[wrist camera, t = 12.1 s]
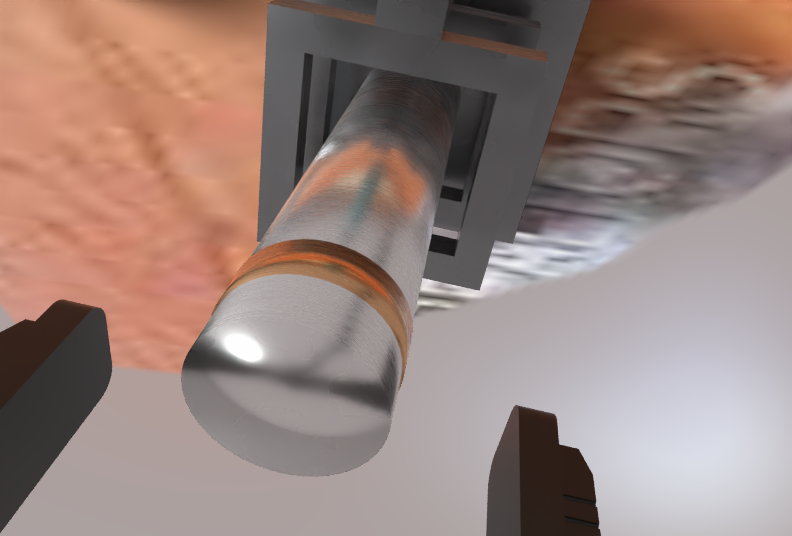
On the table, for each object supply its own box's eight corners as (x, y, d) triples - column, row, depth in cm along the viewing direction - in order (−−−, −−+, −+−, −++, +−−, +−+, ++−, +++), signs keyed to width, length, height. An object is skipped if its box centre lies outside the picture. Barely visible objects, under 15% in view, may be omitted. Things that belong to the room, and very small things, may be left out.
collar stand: (596, -34, 24) (632, 10, 17) (512, 231, 31) (514, 337, 24) (291, -97, 24) (208, -78, 17) (274, 179, 31) (210, 270, 24)
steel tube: (471, 57, 25) (412, 349, 10) (449, 150, 28) (375, 497, 13) (372, 35, 25) (175, 294, 11) (359, 129, 28) (181, 450, 13)
